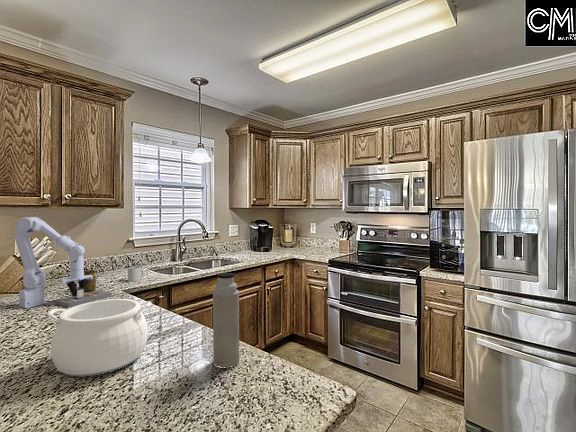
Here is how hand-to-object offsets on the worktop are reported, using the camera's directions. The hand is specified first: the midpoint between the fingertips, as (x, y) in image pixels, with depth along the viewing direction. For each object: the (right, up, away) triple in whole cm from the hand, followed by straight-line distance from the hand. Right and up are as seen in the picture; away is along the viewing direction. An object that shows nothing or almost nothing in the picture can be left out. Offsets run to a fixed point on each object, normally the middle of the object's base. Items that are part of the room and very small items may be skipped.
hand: (77, 295), depth 163 cm
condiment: (-7, -3, +21) cm, 23 cm away
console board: (+2, -3, +3) cm, 5 cm away
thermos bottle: (+89, -5, -64) cm, 110 cm away
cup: (+8, -2, +47) cm, 48 cm away
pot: (+50, -5, -62) cm, 80 cm away
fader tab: (0, -1, 0) cm, 1 cm away
